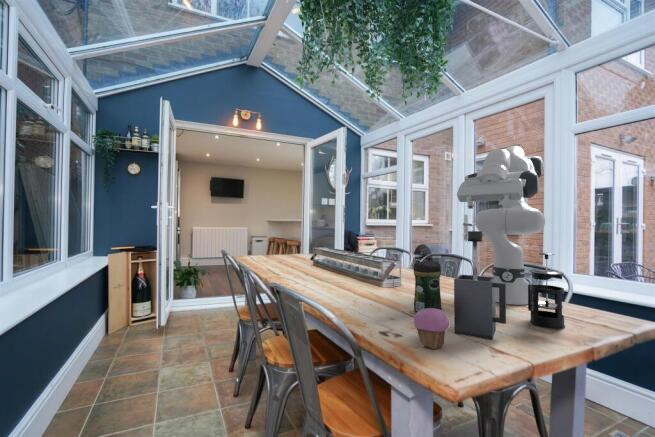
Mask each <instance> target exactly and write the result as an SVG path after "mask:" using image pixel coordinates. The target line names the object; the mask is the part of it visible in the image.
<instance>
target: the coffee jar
mask: <svg viewBox="0 0 655 437" xmlns="http://www.w3.org/2000/svg"><path fill="white" fill-rule="evenodd" d="M413 275H414V280H415V282H414V284H415V286H414V298H413V310H414V312H416V313H417V312H418V311H420V310H421V309H426V308H435V309H440V310H442V308H443V306H442V299H441V298H442V297H441V287H440V286H441V285H440V280H441V275H442V269H441V264H440V262H439V261H432V260H425V261H417V262H414V264H413ZM442 311H443V310H442Z"/></svg>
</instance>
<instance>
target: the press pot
mask: <svg viewBox="0 0 655 437" xmlns="http://www.w3.org/2000/svg"><path fill="white" fill-rule="evenodd" d="M496 288H499V302H498V303H499V304H498V306H499V307H498V309H499V310H498V311H499V312H498V315H499V316H496V315H497V314H496V313H497V311H496V307H497V305H496V303H497V302H496ZM453 301H454V302H453V322H454V323H453V327H454V329H453V330H454V331H453V334H454V335H455V334H456V335H460V336H466V337H471V338H478V339H484V340H487V341H488V340H489V341H493V339H494V337H495V334H496V331H497V324H498V323H499V324H503V325H506V324H507V304H506V283H496V277H492V276H482V275H477V280H473V274H472V275H471V274H469V275H468V274H461V273H460V274H459V275H458V276H456V277H455V278H453ZM496 323H497V324H496Z"/></svg>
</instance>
